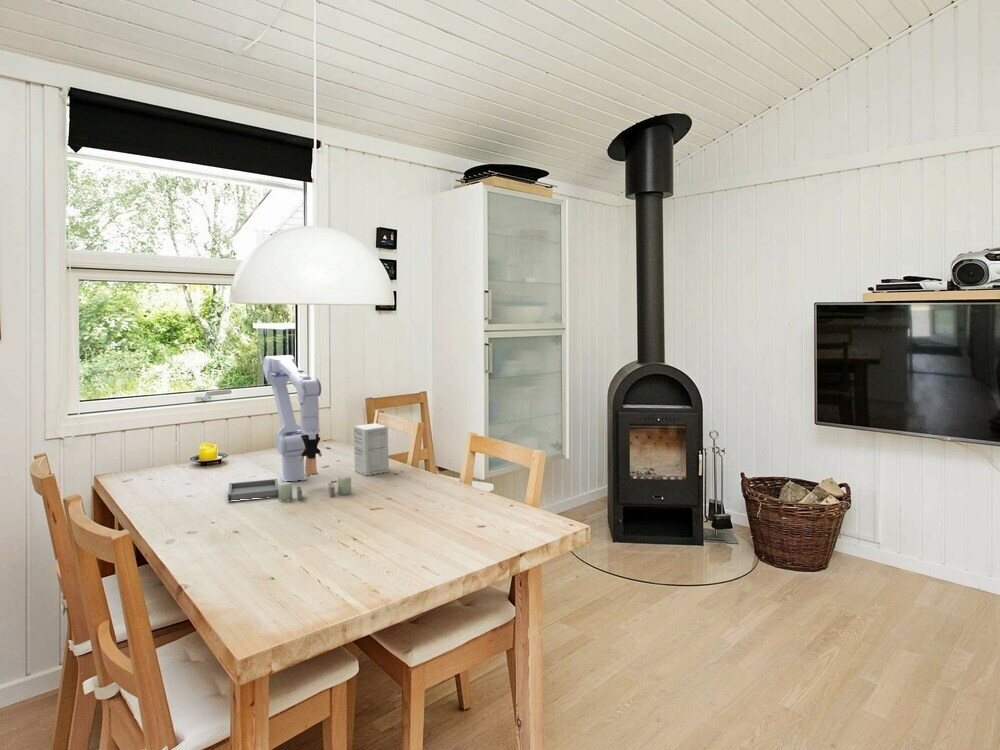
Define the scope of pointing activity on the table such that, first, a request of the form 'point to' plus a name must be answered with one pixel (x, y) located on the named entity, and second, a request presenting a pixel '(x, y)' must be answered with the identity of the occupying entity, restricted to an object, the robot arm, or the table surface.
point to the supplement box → (371, 449)
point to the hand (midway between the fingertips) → (311, 457)
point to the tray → (253, 489)
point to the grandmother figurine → (310, 463)
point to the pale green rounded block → (285, 491)
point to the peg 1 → (344, 485)
